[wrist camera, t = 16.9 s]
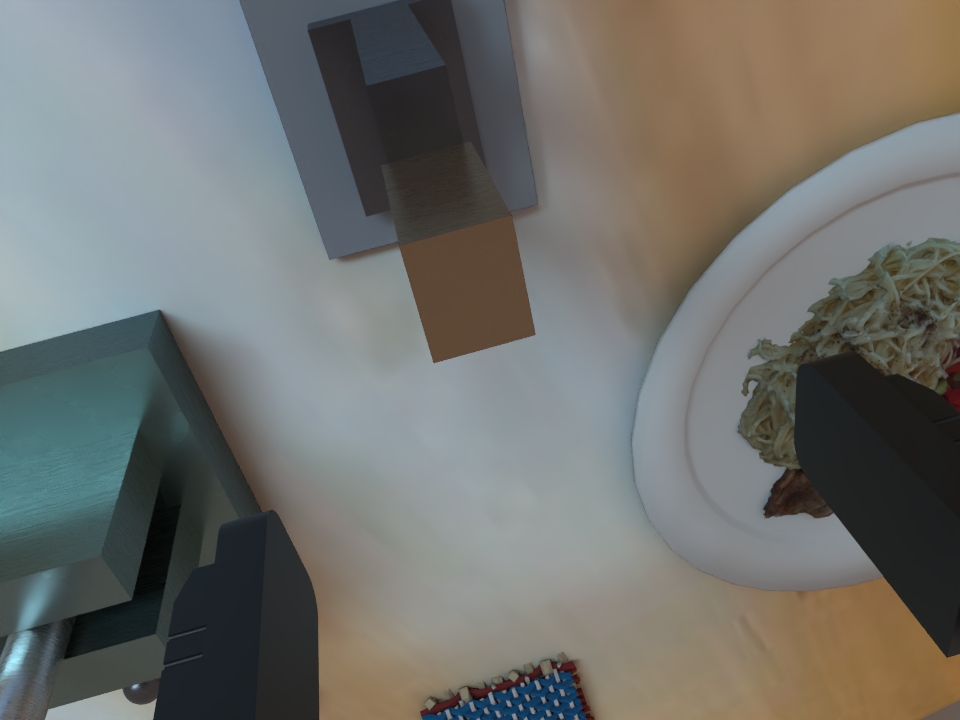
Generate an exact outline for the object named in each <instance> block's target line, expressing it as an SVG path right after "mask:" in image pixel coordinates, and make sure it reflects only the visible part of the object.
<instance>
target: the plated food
mask: <svg viewBox="0 0 960 720" xmlns="http://www.w3.org/2000/svg"><path fill="white" fill-rule="evenodd" d="M847 351H854V352H857V353H858V354H860V355H861V356H862V357H863V358H864V359H865V360H867V361H868V362H869V363H870V364H871V365H872V366H873V367H874V368H875V369H876V370H877V371H878V372H879V373H880V374H881V375H883V376H884V377H887V376H891V375H894V374H900V375H902V376H904V377H906V378H908V379H910V380H913V381H915V382H917V383H919V384H921V385H924V386H926V387H928V388H930V389H932V390H934V391H935V392H937V393H938V394H939V395H940V396H941V397H942V398H943V399H945V400H946V401H947V402H948V403H949V404H950V405H951V406H952V407H954V408H955V409H956V410H957V411H958V412H959V413H960V112H958V113H954V114H950V115H946V116H942V117H937V118H933V119H929V120H925V121H921V122H916V123H913V124H911V125H909V126H906V127H904V128H902V129H899V130H897V131H895V132H893V133H890V134H888V135H886V136H883V137H881V138H879V139H876V140H874V141H872V142H870V143H867V144H865V145H863V146H860V147H858V148H856V149H853V150H851V151H849V152H847V153H846V154H844V155H843V156H841V157H839V158H838V159H836V160H835V161H833V162H832V163H830V164H828V165H827V166H825V167H824V168H822V169H821V170H819V171H817V172H816V173H814V174H813V175H811V176H810V177H808V178H806V179H805V180H803V181H802V182H800V183H799V184H797V185H795V186H794V187H792V188H791V189H789V190H788V191H786V192H785V193H784V194H783V195H782V196H781V197H780V198H778V199H777V200H776V201H775V202H774V203H773V204H771V205H770V206H769V207H768V208H767V209H766V210H765V211H763V212H762V213H761V214H760V215H759V216H758V217H756V218H755V219H754V220H753V221H752V222H751V223H750V224H748V225H747V226H746V227H745V228H744V229H743V230H742V231H740V232H739V233H738V234H737V235H736V236H735V237H733V239H732V240H731V241H730V242H729V243H728V245H727V246H726V247H725V248H724V249H723V250H722V252H721V253H720V254H719V255H718V256H717V257H716V259H715V260H714V261H713V262H712V263H711V264H710V266H709V267H708V268H707V269H706V270H705V272H704V273H703V274H702V275H701V276H700V277H699V279H698V280H697V281H696V282H695V283H694V284H693V286H692V287H691V288H690V289H689V291H688V293H687V294H686V296H685V298H684V299H683V301H682V302H681V304H680V306H679V307H678V309H677V311H676V312H675V314H674V316H673V317H672V319H671V321H670V322H669V324H668V326H667V327H666V329H665V331H664V332H663V334H662V335H661V337H660V339H659V340H658V342H657V345H656V348H655V350H654V353H653V355H652V358H651V361H650V363H649V366H648V369H647V371H646V374H645V376H644V379H643V382H642V384H641V387H640V389H639V392H638V398H637V404H636V410H635V417H634V423H633V429H632V436H631V447H632V459H633V471H634V481H635V484H636V487H637V490H638V492H639V495H640V498H641V500H642V503H643V506H644V508H645V511H646V514H647V516H648V518H649V520H650V522H651V523H652V524H653V526H654V527H655V528H656V530H657V531H658V532H659V534H660V535H661V536H662V538H663V539H664V540H665V542H666V543H667V544H668V546H669V547H670V548H671V549H672V550H673V551H674V552H676V553H677V554H678V555H680V556H681V557H682V558H684V559H685V560H686V561H688V562H689V563H690V564H692V565H693V566H694V567H696V568H697V569H698V570H700V571H703V572H705V573H708V574H710V575H712V576H715V577H717V578H720V579H722V580H724V581H727V582H729V583H732V584H736V585H741V586H747V587H752V588H757V589H763V590H768V591H815V590H823V589H830V588H837V587H844V586H852V585H856V584H859V583H863V582H867V581H870V580H874V579H878V578H881V577H883V575H882V574H881V573H880V571H879V570H878V569H877V568H876V566H875V565H874V564H873V562H872V561H871V560H870V559H869V557H868V556H867V555H866V553H865V552H864V551H863V550H862V548H861V547H860V546H859V544H858V543H857V542H856V541H855V539H854V538H853V537H852V536H851V534H850V533H849V532H848V530H847V529H846V528H845V527H844V525H843V524H842V523H841V521H840V520H839V519H838V518H837V516H836V515H835V514H834V512H833V511H832V510H831V509H830V507H829V506H828V505H827V503H826V502H825V501H824V500H823V498H822V497H821V496H820V494H819V493H818V492H817V491H816V489H815V488H814V487H813V486H812V484H811V483H810V482H809V480H808V479H807V477H806V476H805V474H804V472H803V470H802V468H801V466H800V464H799V461H798V458H797V455H796V451H795V446H794V424H795V400H796V377H797V371H798V368H799V366H800V365H801V364H804V363H807V362H811V361H814V360H818V359H821V358H825V357H829V356H832V355H836V354H839V353H843V352H847Z"/></svg>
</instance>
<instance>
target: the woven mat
mask: <svg viewBox="0 0 960 720" xmlns="http://www.w3.org/2000/svg"><path fill="white" fill-rule="evenodd" d="M557 655H558V660H559V662H557V664H555V663H552V662H550V660H549V659H548V660H544V661H541V662H539V663H540V665H539V666H538V667H537V668H536V669H535V670H534V667H533V665H532V663H528V664H525V665H524V669H525V672H526V674H527V675H524V676H521V677H520V676H519V674H518V671H516V670H512V671H510V672H509V673H508V678H509V679H510V680H509V681H506V682H503V679H502V676H497V677H494V678H492V681H493V684H491V687H488V688H487V687H486V685H485V683H484V681H482V682H479V683H476V685H477V688H478V689H473V688H469V689H468V688H467V686H465V687H462V688H459V689H458V690H459V693H458V694H457V695H456V696H454V694H453V693H452V691H451V690H450V689H449V690H446V691H444V692H445V695H446V699H447V701H445V702H442V703H440V704H437V702H436V700H435V699H433V698H431V697H429V698H428V699H427V701H426V702H425V705H426V706H427V709H425V710H422V711H420V712H421V716H422V719H423V720H594V717H592V716H590V714H586V713H585V712H587V711H590V708H589V706H588V705H587V703H586V701H585V698H584V695H582V694H583V691H582V689H581V688H578V689H577V686H576V684H579V683H580V678H578V677H577V675H574V676H573V673H574V672H576V671H577V670H576V667H575V666H574V664H573V661H571V662H568V660H567V657H566V656H565V654H564V653H563V652H562V653H559V654H557ZM557 671H559V672H557ZM542 672H543V675H544V676H545V677H542V678H538V677H539V676H540V675H541V673H542ZM473 696H477V697H482V698H479V699H476V700H474V698H473ZM529 696H531V697H529ZM461 699H462V701H460V700H461ZM495 699H497V700H498V701H494V700H495ZM458 702H459V704H460V705H459V704H458ZM447 708H448V709H447Z"/></svg>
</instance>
